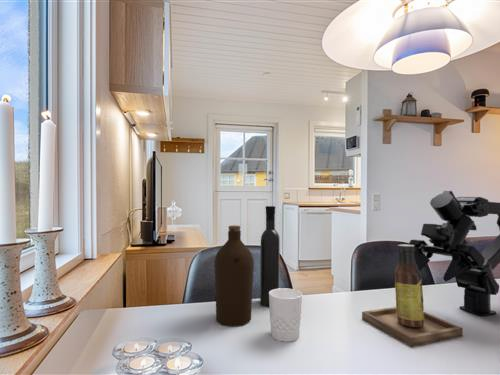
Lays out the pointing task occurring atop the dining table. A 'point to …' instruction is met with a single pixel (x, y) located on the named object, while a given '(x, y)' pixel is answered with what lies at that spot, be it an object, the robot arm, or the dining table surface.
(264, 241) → the wine bottle
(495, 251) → the robot arm
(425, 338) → the walnut tray
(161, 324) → the dining table surface
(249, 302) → the olive oil
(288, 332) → the white cup
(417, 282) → the sauce bottle
